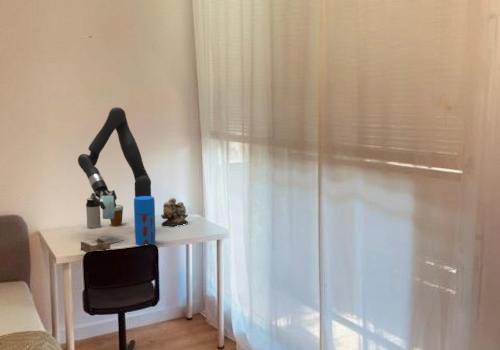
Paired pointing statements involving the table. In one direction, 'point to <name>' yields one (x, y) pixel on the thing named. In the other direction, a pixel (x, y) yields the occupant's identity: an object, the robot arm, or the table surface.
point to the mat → (112, 240)
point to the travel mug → (93, 214)
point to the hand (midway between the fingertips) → (109, 207)
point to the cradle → (99, 246)
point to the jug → (108, 206)
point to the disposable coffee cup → (117, 216)
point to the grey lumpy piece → (174, 213)
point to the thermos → (144, 220)
